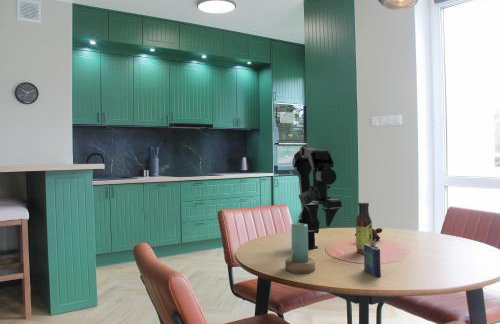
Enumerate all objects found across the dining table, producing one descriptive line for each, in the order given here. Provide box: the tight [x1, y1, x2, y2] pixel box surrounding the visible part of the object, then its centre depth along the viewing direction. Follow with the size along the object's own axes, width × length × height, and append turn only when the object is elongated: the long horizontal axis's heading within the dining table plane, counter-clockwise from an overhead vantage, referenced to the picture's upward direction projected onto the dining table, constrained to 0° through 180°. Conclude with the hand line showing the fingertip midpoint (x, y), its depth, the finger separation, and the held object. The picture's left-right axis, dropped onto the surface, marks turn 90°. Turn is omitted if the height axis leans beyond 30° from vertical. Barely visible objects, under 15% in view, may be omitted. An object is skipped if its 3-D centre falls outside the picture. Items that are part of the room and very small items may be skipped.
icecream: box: [354, 227, 383, 241], centre depth 178 cm, size 7×7×15 cm
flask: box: [363, 240, 382, 278], centre depth 131 cm, size 9×3×11 cm, turn 8°
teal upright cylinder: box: [290, 222, 309, 263], centre depth 136 cm, size 6×6×12 cm
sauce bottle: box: [355, 201, 373, 254], centre depth 159 cm, size 7×6×20 cm
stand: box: [284, 257, 316, 275], centre depth 136 cm, size 10×10×3 cm
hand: (320, 224), depth 150 cm, fingers open, 9 cm apart
